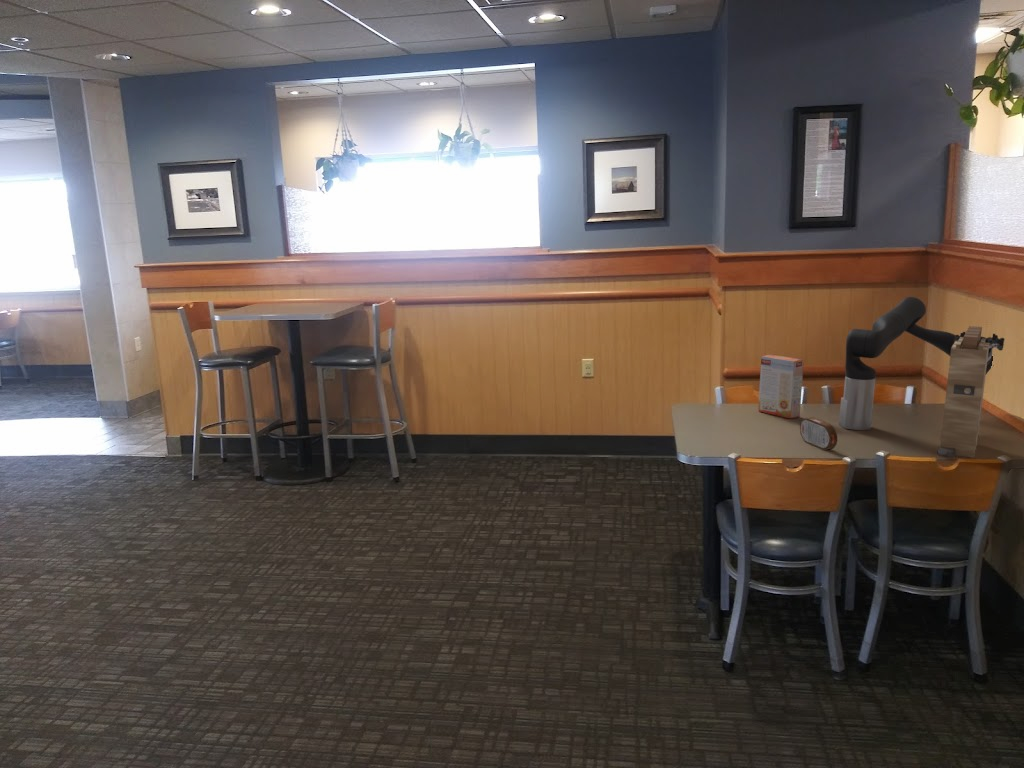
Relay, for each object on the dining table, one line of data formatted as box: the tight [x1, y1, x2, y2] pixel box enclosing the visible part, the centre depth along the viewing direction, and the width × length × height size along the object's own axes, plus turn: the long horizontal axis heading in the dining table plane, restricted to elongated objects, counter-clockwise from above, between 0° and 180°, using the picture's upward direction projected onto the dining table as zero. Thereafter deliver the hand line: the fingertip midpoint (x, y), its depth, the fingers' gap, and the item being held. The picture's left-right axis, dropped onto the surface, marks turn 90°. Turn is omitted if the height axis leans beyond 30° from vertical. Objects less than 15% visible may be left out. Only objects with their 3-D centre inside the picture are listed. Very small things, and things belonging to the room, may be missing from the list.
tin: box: [799, 416, 838, 451], centre depth 241 cm, size 15×3×8 cm, turn 17°
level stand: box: [937, 337, 990, 458], centre depth 231 cm, size 22×9×33 cm, turn 147°
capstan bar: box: [962, 325, 983, 349], centre depth 234 cm, size 24×4×4 cm, turn 147°
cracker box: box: [757, 354, 805, 419], centre depth 277 cm, size 14×6×21 cm, turn 34°
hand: (978, 335), depth 254 cm, fingers open, 8 cm apart
